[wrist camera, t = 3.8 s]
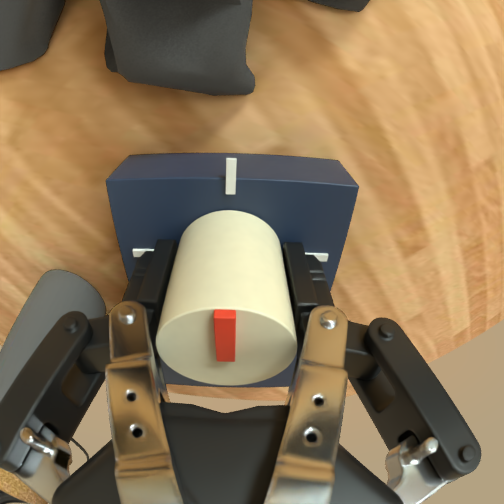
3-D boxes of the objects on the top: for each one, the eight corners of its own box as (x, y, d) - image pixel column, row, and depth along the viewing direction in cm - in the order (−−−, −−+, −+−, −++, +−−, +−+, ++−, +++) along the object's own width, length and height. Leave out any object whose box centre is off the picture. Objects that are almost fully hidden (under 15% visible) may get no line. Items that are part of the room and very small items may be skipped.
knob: (275, 292, 14) (287, 392, 10) (183, 290, 14) (167, 389, 10) (286, 211, 11) (312, 317, 7) (173, 208, 11) (138, 312, 7)
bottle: (32, 261, 16) (-56, 453, 4) (102, 277, 17) (32, 509, 5) (49, 314, 20) (-6, 478, 8) (110, 331, 21) (70, 514, 9)
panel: (292, 354, 23) (296, 388, 20) (169, 351, 22) (163, 385, 20) (341, 144, 13) (365, 169, 10) (127, 139, 12) (100, 162, 10)
